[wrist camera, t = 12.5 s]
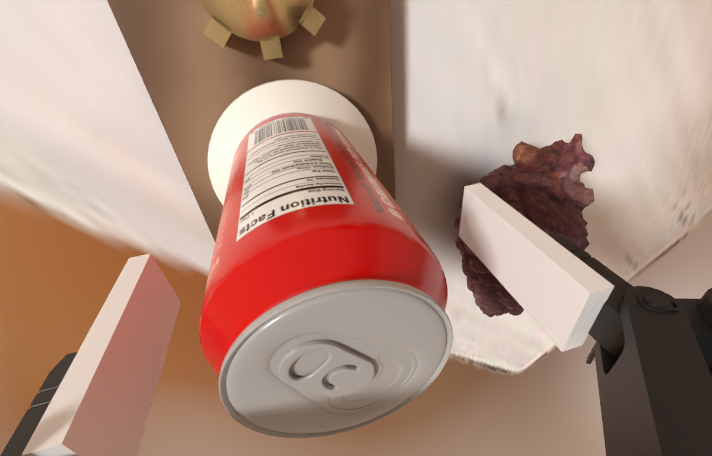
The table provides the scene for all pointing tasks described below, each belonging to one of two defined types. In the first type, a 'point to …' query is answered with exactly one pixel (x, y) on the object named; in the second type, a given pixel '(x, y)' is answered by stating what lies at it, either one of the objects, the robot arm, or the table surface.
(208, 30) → the brass gear
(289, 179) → the soda can
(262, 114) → the ceramic plate
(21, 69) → the table surface
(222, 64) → the gear board
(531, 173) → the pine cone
